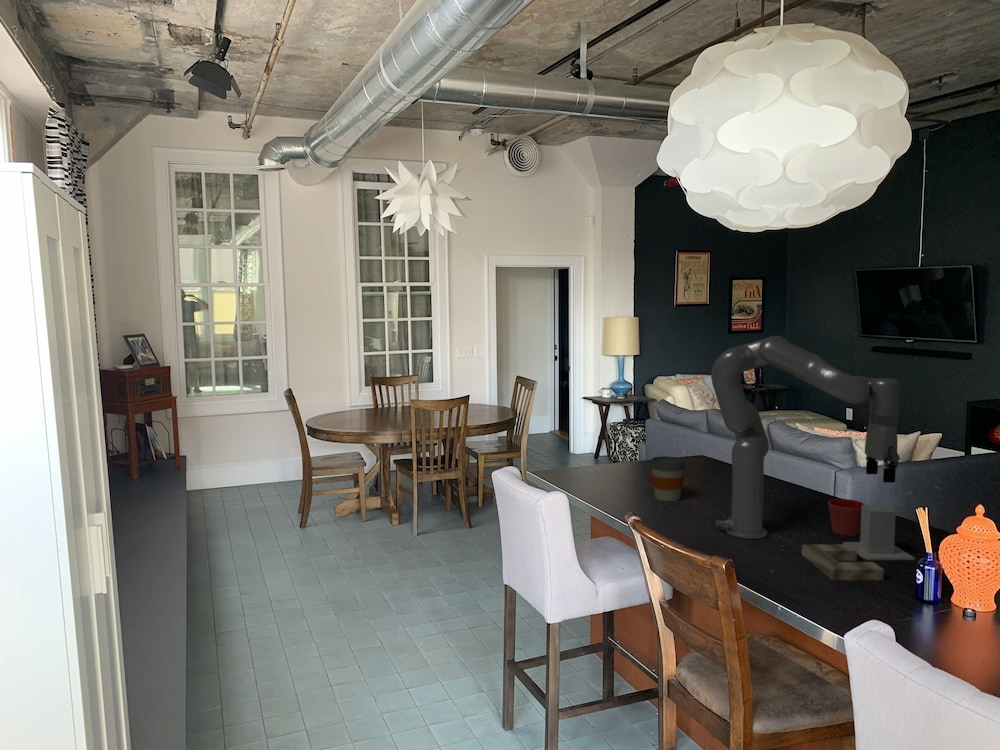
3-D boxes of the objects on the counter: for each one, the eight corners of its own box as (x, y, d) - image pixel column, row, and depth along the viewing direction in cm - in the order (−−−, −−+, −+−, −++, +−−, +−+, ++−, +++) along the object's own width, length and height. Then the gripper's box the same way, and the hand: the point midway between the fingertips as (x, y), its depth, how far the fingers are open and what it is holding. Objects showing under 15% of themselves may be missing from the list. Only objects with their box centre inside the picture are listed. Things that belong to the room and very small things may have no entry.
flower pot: (844, 539, 228) (845, 509, 227) (820, 529, 239) (821, 499, 238) (872, 536, 231) (873, 506, 230) (847, 526, 241) (848, 497, 240)
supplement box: (894, 554, 213) (896, 512, 212) (867, 553, 214) (869, 511, 213) (885, 545, 220) (887, 504, 219) (859, 544, 221) (861, 504, 220)
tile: (866, 560, 210) (866, 558, 210) (843, 544, 224) (843, 542, 224) (914, 559, 210) (914, 557, 210) (888, 543, 224) (888, 541, 224)
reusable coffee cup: (681, 494, 281) (682, 456, 279) (686, 503, 268) (687, 463, 267) (648, 494, 282) (649, 456, 281) (652, 503, 270) (652, 463, 268)
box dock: (832, 580, 195) (833, 569, 194) (801, 554, 215) (802, 544, 214) (883, 580, 195) (883, 569, 195) (847, 554, 215) (847, 544, 214)
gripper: (856, 415, 222) (853, 471, 223) (886, 425, 204) (882, 485, 206) (880, 415, 222) (877, 471, 223) (912, 425, 204) (909, 485, 206)
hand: (880, 478), depth 215 cm, fingers open, 9 cm apart
